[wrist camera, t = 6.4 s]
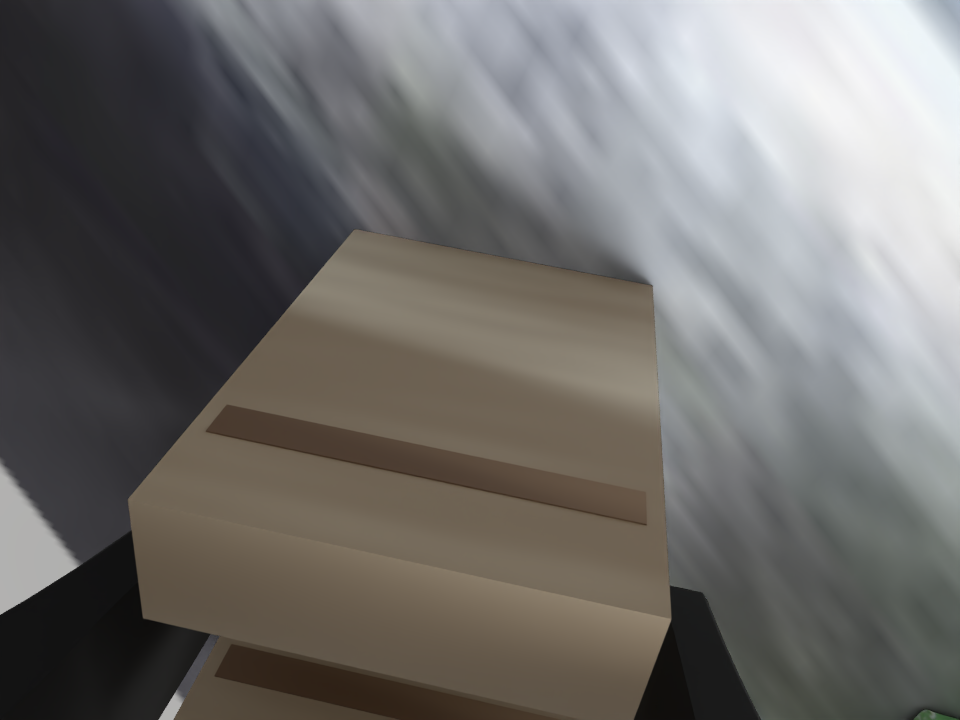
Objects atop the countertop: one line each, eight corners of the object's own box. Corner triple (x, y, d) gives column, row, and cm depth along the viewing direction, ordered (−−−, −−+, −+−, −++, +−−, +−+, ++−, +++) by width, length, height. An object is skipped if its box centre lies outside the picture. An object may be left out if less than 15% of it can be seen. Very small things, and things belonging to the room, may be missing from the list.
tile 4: (629, 369, 14) (628, 731, 8) (349, 314, 14) (143, 619, 8) (652, 284, 13) (672, 617, 7) (354, 227, 13) (127, 497, 7)
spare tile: (585, 534, 16) (557, 929, 10) (338, 481, 16) (164, 832, 10) (603, 468, 15) (584, 860, 9) (341, 415, 15) (153, 755, 9)
